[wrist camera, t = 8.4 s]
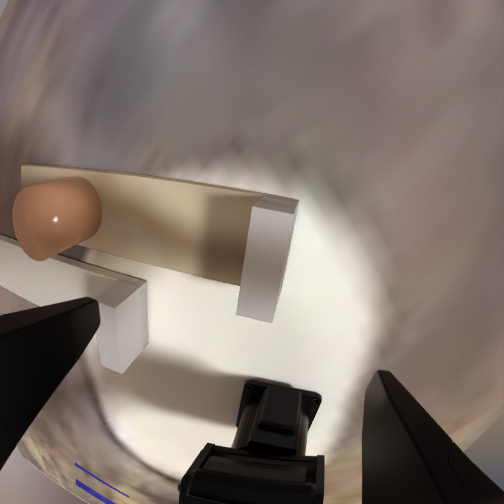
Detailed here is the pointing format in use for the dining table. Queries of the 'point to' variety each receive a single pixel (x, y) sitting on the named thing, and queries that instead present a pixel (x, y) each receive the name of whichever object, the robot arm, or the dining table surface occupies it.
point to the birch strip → (191, 229)
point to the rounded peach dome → (55, 216)
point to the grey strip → (83, 285)
